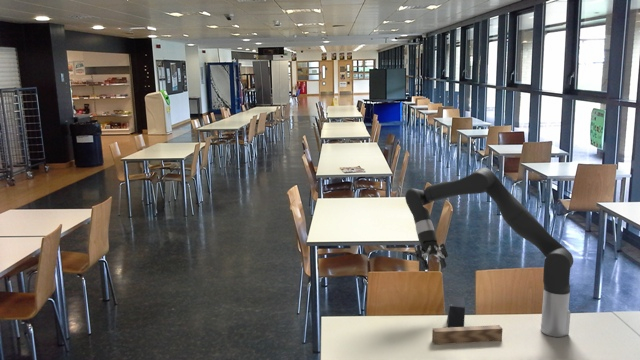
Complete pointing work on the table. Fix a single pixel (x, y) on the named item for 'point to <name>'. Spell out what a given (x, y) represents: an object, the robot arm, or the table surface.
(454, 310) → the small box
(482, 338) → the walnut board
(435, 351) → the table surface
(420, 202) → the robot arm
